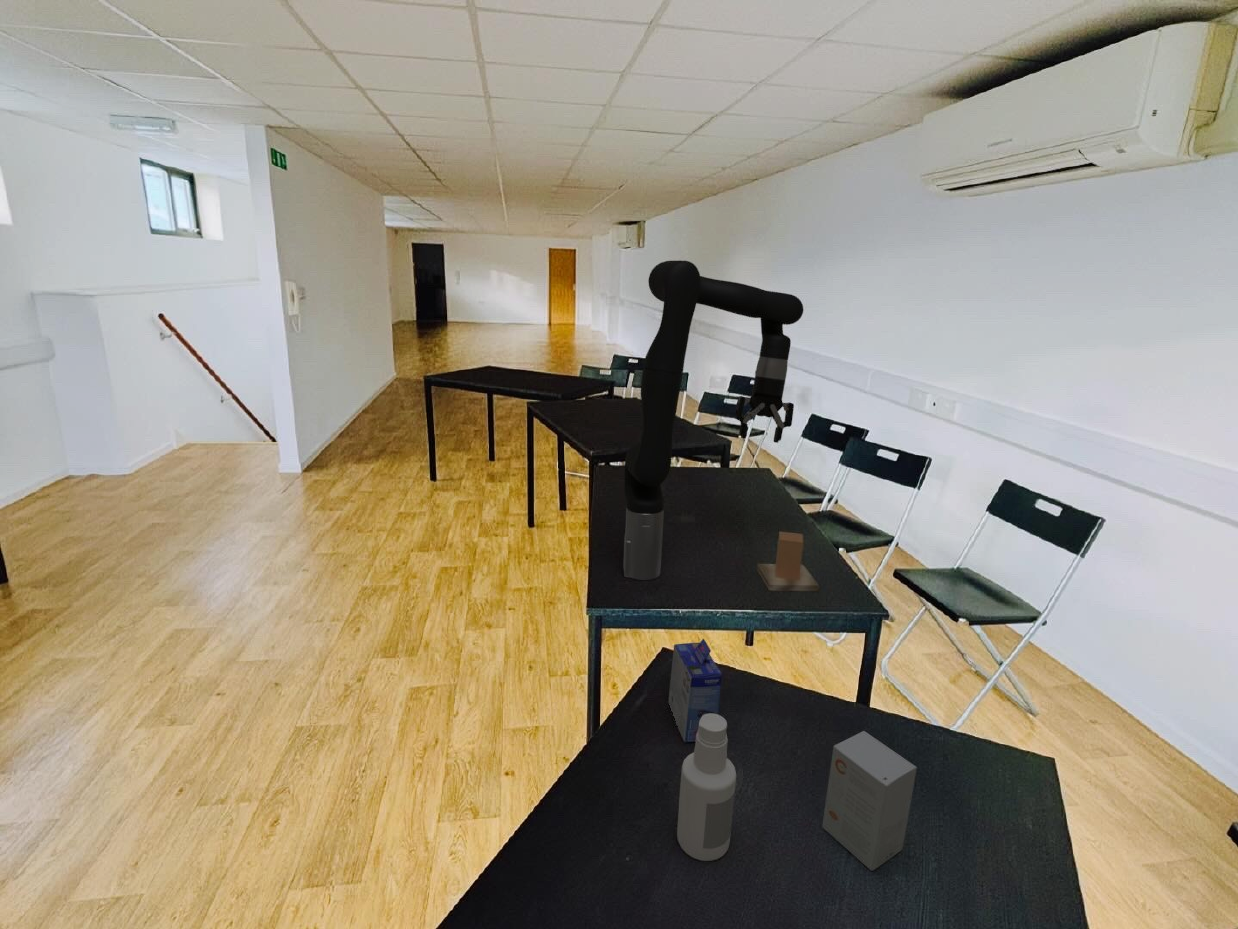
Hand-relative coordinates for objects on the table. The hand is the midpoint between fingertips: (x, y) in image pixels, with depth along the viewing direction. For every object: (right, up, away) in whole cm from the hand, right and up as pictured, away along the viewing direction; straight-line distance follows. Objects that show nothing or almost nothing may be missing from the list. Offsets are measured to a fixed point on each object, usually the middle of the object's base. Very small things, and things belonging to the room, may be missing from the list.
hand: (759, 440), depth 161 cm
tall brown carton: (+6, -34, -4) cm, 34 cm away
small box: (-4, -56, -78) cm, 96 cm away
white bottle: (-25, -55, -79) cm, 100 cm away
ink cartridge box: (-24, -49, -57) cm, 79 cm away
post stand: (+6, -35, -3) cm, 36 cm away
